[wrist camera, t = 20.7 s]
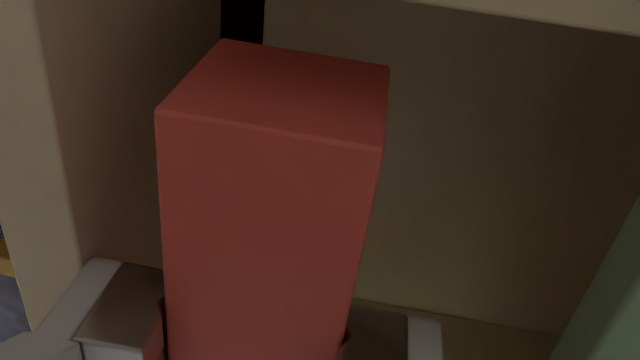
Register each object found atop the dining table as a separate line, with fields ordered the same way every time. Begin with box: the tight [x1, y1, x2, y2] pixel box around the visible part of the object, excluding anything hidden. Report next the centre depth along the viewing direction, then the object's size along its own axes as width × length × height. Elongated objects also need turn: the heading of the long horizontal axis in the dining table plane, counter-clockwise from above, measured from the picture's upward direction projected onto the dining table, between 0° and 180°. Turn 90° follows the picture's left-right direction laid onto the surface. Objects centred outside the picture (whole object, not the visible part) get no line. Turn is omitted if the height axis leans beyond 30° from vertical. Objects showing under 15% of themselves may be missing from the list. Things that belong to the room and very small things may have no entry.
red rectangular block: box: [154, 38, 390, 360], centre depth 9 cm, size 8×3×3 cm, turn 173°
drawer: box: [0, 0, 640, 360], centre depth 11 cm, size 18×13×7 cm
